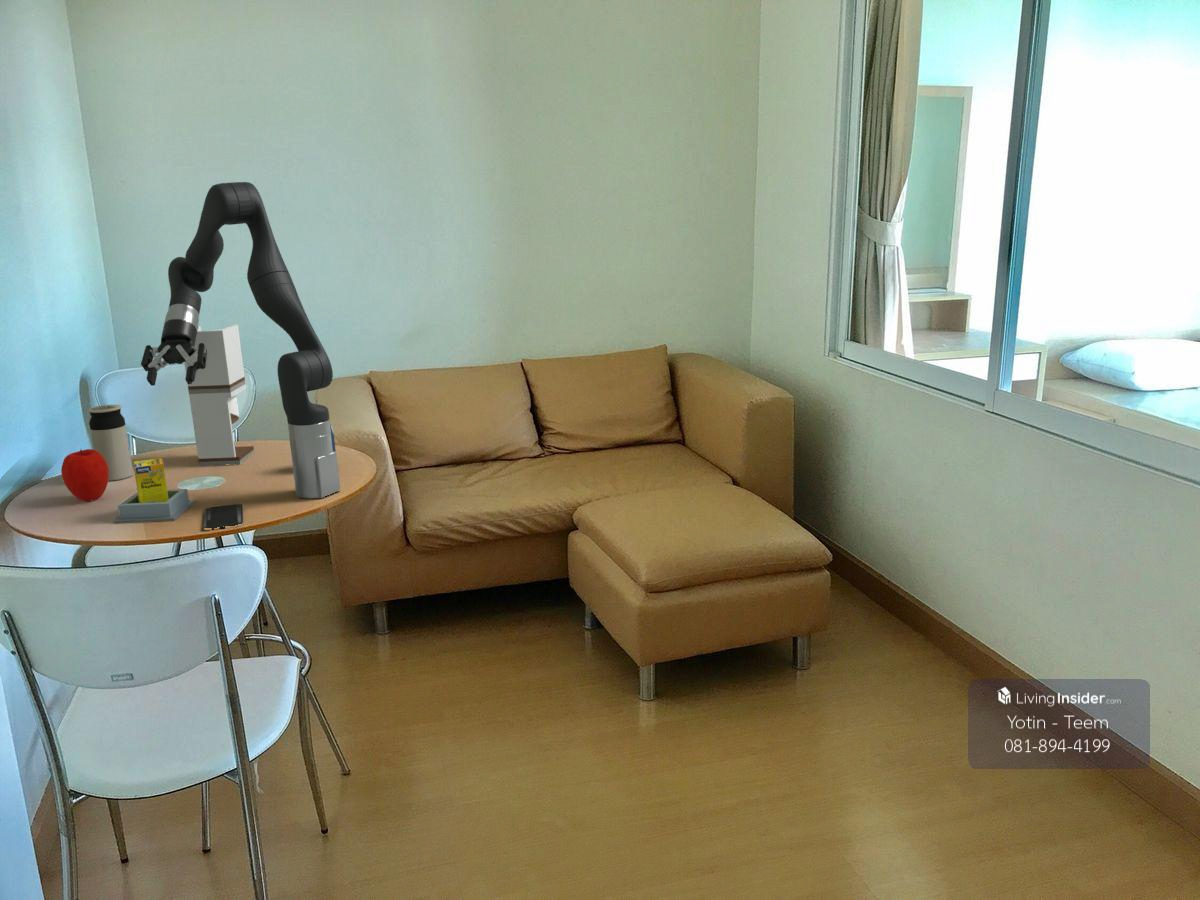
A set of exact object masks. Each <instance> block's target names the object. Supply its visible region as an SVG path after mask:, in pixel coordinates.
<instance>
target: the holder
mask: <svg viewBox="0 0 1200 900" xmlns="http://www.w3.org/2000/svg"><path fill="white" fill-rule="evenodd" d="M167 492H168V500H167V501H166V502H155V503H139V498H138V491H136V492H135V493H134V494H133V495H132V496H129V497H128V498H127V499H125V500H124V501H123V502H122V503H120V504H118V507H117V508H118V512H119V515H118V517H116V518H115V519H113V521H112V522H113V524H126V523H127V524H131V523H150V522H149V521H156V522H173V521H176V520H177V519H178V518H179V517H181V516H182V515H183V514H184V513H185V512H186V511H188V510H189V509H190V508H191V507H193V505H195V504H196V499H190V498H189V492H188V489H187V488H177V489H175V488H174V489H167Z"/></svg>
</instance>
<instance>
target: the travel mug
mask: <svg viewBox="0 0 1200 900" xmlns="http://www.w3.org/2000/svg"><path fill="white" fill-rule="evenodd" d="M121 408H122V405H120V404H103V405H98V406H92V407H90V408H88V410H87V411H88V412H89V414H90V419H89V422H88V425H89V431H90V435H91V442H92V450H95V451H98V452H99V453H100V454H101V455H102V456H103V457H104V459H105V461H106V463H107V465H108V469H109V480H108V482H115V481H116V482H117V481H122V480H124V479H125V480H126V479H128V478H130V477H132V476H133V475H134V467H133V462H132V457H131V451H130V445H129V437H128V431H127V425H126V420H125V417H124V416H123V415H122V413H121V410H122V409H121Z"/></svg>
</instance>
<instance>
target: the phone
mask: <svg viewBox="0 0 1200 900" xmlns="http://www.w3.org/2000/svg"><path fill="white" fill-rule="evenodd" d="M243 509H244V508H243V504H242V503H235V504H233V503H232V504H226V505H218V506H210V507H207V508H205V509H204V519H203V529H204V528H217V527H221V528H224V527H223V526H235V525H238V524H242V523H243V524H244V510H243Z"/></svg>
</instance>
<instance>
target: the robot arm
mask: <svg viewBox="0 0 1200 900" xmlns="http://www.w3.org/2000/svg"><path fill="white" fill-rule="evenodd" d="M243 224H245V225H247V228H248V230H249V233H250V237H251V240H252V249H251V253H250V258H249V263H248V266H247V267H248V268H247V273H246V274H247V275H246V278H247V279H246V280H247V283H248V285H249V288H250V291H251V293H252V295H253V297H254V299H255V302H256V304H257V306H258V308H259V309H260V310H261V311H262V312H263V313H264V314H265V315H266V316H267V317H268V318H269V319H271V321H273V322H274V323H275V324H277V326H278V327H280V328H281V329H283V331H284V332H286V334H287V335H288V336H289V337H290V339H291V340H292V342H293V343H294V345H295V347H296V349H297V351H293V352H288V353H285V354H283V355H281V356H280V357H279V360H278V363H277V378H278V384H279V390H280V391H279V392H280V396H281V403H282V407H283V411H284V413H285V415H286V420H287V428H288V429H287V430H288V435H289V437H288V438H289V446H290V452H291V453H290V454H291V463H292V471H293V478H294V487H295V489H294V490H295V495H296V497H298V498H300V499H324V498H326V497H325V496H327V495H329V494H331V493H333V492H336V491H338V490H340V491H341V484H340V475H339V466H338V465H339V463H338V456H337V452H333V448H332V439H331V429H330V424H331V421H330V412H329V408H328V407H327V406H325V405H324V404H323V405H322V404H318V403H313V402H311V400H310V399H309V394H308V393H309V392H312V391H313V392H314V391H316V390H322V389H325V388H328V387H329V386H330V385H331V384H332V382H333V377H334V375H333V374H334V372H333V368H332V364H331V360H330V357H329V356H328V353H327V351H326V350H325V348H324V346H323V344H322V342H321V341H320V339H319V336H318V335H317V333H316V331H315V329H314V327H313V325H312V324H311V322H310V319H309V317H308V316H307V313H306V310H305V308H304V306H303V304H302V302H301V299H300V297H299V294H298V292H297V289H296V286H295V284H294V281H293V279H292V277H291V274H290V271H289V270H288V267H287V265H286V263H285V261H284V259H283V256H282V254H281V252H280V249H279V247H278V244H277V241H276V239H275V236H274V233H273V230H272V227H271V223H270V220H269V217H268V214H267V210H266V208H265V204H264V202H263V199H262V197H261V194H260V192H259V190H258V189H257V187H256V186H255V185H254V184H253V183H251V182H249V181H239V182H238V181H237V182H235V181H234V182H221V183H215V184H213V185H212V186H211V187H210V188H209V189H208V191H207V194H206V196H205V198H204V203H203V206H202V211H201V213H200V218H199V222H198V227H197V229H196V233H195V236H194V237H193V239H192V241H191V243H190V245H188V246H189V247H188V248H187V250H186V251H185V252H186V253H185V257H184V256H178V257H175V258H174V259H172V260H171V261H170V263H169V265H168V271H167V277H168V283H169V289H170V299H169V300H170V301H169V304H168V309H167V312H166V315H165V318H164V324H163V327H162V333H161V337H160V344H159V345H158V346H157V347H156V346H155V347H153V346H151V345H150V344H147V345H146V346H145V348H144V351H143V356H142V358H141V362H140V365H141V366H142V369H143V370H144V371H145V372H147V373H146V381H147V382H148V383H149V385H150V386H151V387H152V386H155V385H156V381H157V375H158V372H159V371H160V370H161V369H164V368H165V367H166V366H168V365H175V364H178V365H183V363H184V362H186V363H187V364H188V366H189V367H187V373H186V372H185V378H184V379H185V382H186V383H188V384H192V382H194V380H195V375H196V371H197V370H198V369H205V367H206V358H207V349H206V347H205V345H204V344H203V343H200V344H199V346H194V345H195V341H196V335H197V330H198V326H199V325H200V324H199V321H200V318H199V317H200V314H201V313H200V311H201V305H202V296H201V295H200V293H204V292H207V291H209V290H210V289H211V288H212V286H213V282H214V276H215V275H214V273H215V271H214V269H215V267H216V264H217V262H218V261H219V259H220V257H221V256H222V254H223V251H224V247H225V244H224V238H223V236H222V233H220V229H221V228H222V227H223V226H225V225H226V226H227V225H229V226H232V225H233V226H234V225H243ZM195 351H196V352H197V354H198V357H197V362H193V361H192V359H191V358H190V356H192V355H193V354H194V353H195ZM188 384H187V385H188ZM329 496H330V495H329ZM323 497H324V498H323ZM327 497H328V496H327Z"/></svg>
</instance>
